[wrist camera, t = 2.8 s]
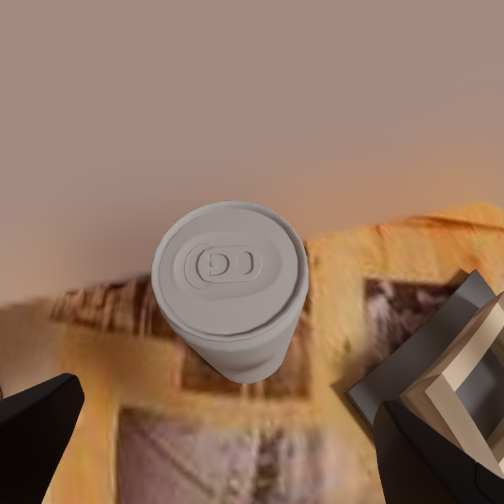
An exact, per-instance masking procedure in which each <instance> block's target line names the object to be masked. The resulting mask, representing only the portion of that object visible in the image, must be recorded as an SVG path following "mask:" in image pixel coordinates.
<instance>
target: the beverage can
mask: <svg viewBox="0 0 504 504" xmlns="http://www.w3.org/2000/svg"><path fill="white" fill-rule="evenodd" d="M151 284H152V288H153V291H154V294H155V297H156V300H157V303H158V306H159V309H160V311H161V314H162V315H163V317H164V318H165V319H166V321H167V322H168V324H169V325H170V326H171V328H172V329H173V330H174V331H175V332H176V333H177V334H178V335H179V336H180V337H181V338H182V339H183V340H184V341H185V342H186V343H187V344H188V345H189V346H190V347H191V348H193V349H194V350H195V351H196V352H197V353H198V354H199V355H200V356H201V357H202V358H204V359H205V360H206V361H207V362H208V363H209V364H210V365H211V366H213V367H214V368H215V369H216V370H217V371H218V372H219V373H221V374H222V375H223V376H225V377H226V378H228V379H229V380H231V381H234V382H237V383H244V384H251V383H255V382H259V381H261V380H263V379H265V378H267V377H269V376H270V375H271V374H273V373H274V372H275V371H276V370H277V369H278V368H279V366H280V365H281V364H282V362H283V359H284V357H285V354H286V351H287V349H288V346H289V343H290V341H291V338H292V335H293V333H294V330H295V327H296V325H297V322H298V319H299V316H300V314H301V311H302V308H303V304H304V301H305V298H306V295H307V291H308V266H307V256H306V253H305V250H304V247H303V243H302V240H301V239H300V237H299V236H298V234H297V233H296V231H295V230H294V228H293V227H292V225H291V224H290V223H288V222H287V221H286V220H285V219H284V218H283V217H282V216H280V215H279V214H278V213H276V212H274V211H272V210H270V209H268V208H266V207H265V206H262V205H259V204H255V203H250V202H247V201H230V200H227V201H220V202H215V203H210V204H206V205H204V206H201V207H199V208H196V209H194V210H192V211H190V212H189V213H187V214H186V215H184V216H183V217H181V218H180V219H178V220H177V221H176V222H175V223H174V224H173V225H172V226H171V227H170V228H169V229H168V230H167V231H166V232H165V234H164V236H163V237H162V239H161V241H160V243H159V244H158V246H157V248H156V250H155V254H154V257H153V261H152V265H151Z"/></svg>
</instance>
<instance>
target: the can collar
mask: <svg viewBox="0 0 504 504" xmlns="http://www.w3.org/2000/svg"><path fill="white" fill-rule="evenodd" d="M344 393H345V395H346V396H347V397H348V399H349V400H350V402H351V403H352V404H353V406H354V407H355V408H356V410H357V411H358V413H359V414H360V415H361V417H362V418H363V419H364V421H365V422H366V424H367V425H368V426H369V428H370V429H371V430H372V432H373V433H374V430H373V420H374V417H375V415H376V412H377V409H378V407H379V404H380V402H381V401H382V400H388V399H396V400H397V401H398V402H400V403H401V404H402V405H404V406H405V407H406V408H407V409H409V410H410V411H411V412H413V413H414V414H415V415H416V416H418V417H419V418H420V419H422V420H423V421H424V422H426V423H427V424H428V425H429V426H431V427H432V428H433V429H435V430H436V431H437V432H439V433H440V434H441V435H443V436H444V437H445V438H447V439H448V440H449V441H450V442H452V443H453V444H454V445H456V446H457V447H458V448H460V449H461V450H463V451H464V452H465V453H467V454H468V455H469V456H471V457H472V458H473V459H475V460H476V462H479V463H480V464H482V465H483V466H484V467H486V468H487V469H489V470H490V471H492V472H493V473H495V474H496V475H497V476H499V477H501V478H503V479H504V291H503V292H502V293H500V294H499V295H498V296H496V295H495V294H494V292H493V291H492V290H491V288H490V287H489V285H488V284H487V283H486V281H485V280H484V279H483V277H482V276H481V275H480V273H479V272H478V271H477V270H476V269H475V270H474V271H472V272H471V273H470V274H469V275H468V277H467V278H466V279H465V280H464V281H463V282H462V284H461V285H460V286H459V287H458V288H457V289H456V290H455V292H454V293H453V294H452V295H451V296H450V297H449V298H448V299H447V300H446V301H445V303H444V304H443V305H442V306H441V307H440V308H439V309H438V310H437V311H436V312H435V313H434V314H433V315H432V316H431V317H430V318H429V319H428V320H427V321H426V322H425V323H424V324H423V325H422V326H421V327H420V328H419V329H418V330H417V331H416V332H415V333H414V334H413V335H412V336H411V337H410V338H409V339H408V340H407V341H405V342H404V343H403V344H402V345H401V346H400V347H399V348H398V349H397V350H396V351H394V352H393V353H392V354H391V355H390V356H389V357H388V358H386V359H385V360H384V361H383V362H382V363H381V364H379V365H378V366H377V367H376V368H375V369H373V370H372V371H371V372H370V373H369V374H367V375H366V376H365V377H364V378H362V379H361V380H360V381H359V382H357V383H356V384H355V385H353V386H352V387H351V388H350V389H348V390H347V391H346V392H344Z"/></svg>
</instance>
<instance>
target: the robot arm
mask: <svg viewBox="0 0 504 504" xmlns="http://www.w3.org/2000/svg"><path fill="white" fill-rule="evenodd" d="M84 400H85V395H84V392H83V389H82V387H81V384H80V381H79V379H78V377H77V376H76V375H73V374H70V373H63V374H61V375H59V376H57V377H54V378H52V379H50V380H47V381H45V382H43V383H40V384H38V385H36V386H33V387H31V388H29V389H26V390H24V391H22V392H19V393H17V394H15V395H12V396H10V397H7V398H5V399H2V400H0V504H41V503H42V501H43V498H44V496H45V494H46V491H47V489H48V487H49V484H50V482H51V480H52V477H53V475H54V473H55V471H56V468H57V466H58V464H59V462H60V460H61V458H62V455H63V453H64V451H65V449H66V447H67V445H68V443H69V441H70V438H71V436H72V433H73V431H74V428H75V425H76V422H77V419H78V417H79V414H80V411H81V409H82V406H83V403H84ZM373 430H374V438H375V446H376V454H377V463H378V470H379V475H380V479H381V484H382V488H383V492H384V497H385V501H386V504H504V479H503V478H501V477H499V476H497V475H496V474H495V473H493V472H492V471H490V470H489V469H487V468H486V467H484V466H483V465H482V464H480V463H479V462H476V460H475V459H473V458H472V457H471V456H469V455H468V454H467V453H465V452H464V451H463V450H461V449H460V448H458V447H457V446H456V445H454V444H453V443H452V442H450V441H449V440H448V439H447V438H445V437H444V436H443V435H441V434H440V433H439V432H437V431H436V430H435V429H433V428H432V427H431V426H429V425H428V424H427V423H426V422H424V421H423V420H422V419H420V418H419V417H418V416H416V415H415V414H414V413H413V412H411V411H410V410H409V409H407V408H406V407H405V406H404V405H402V404H401V403H400V402H398V401H397V400H396V399H388V400H382V401H381V402H380V404H379V407H378V409H377V412H376V415H375V417H374V420H373Z"/></svg>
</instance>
